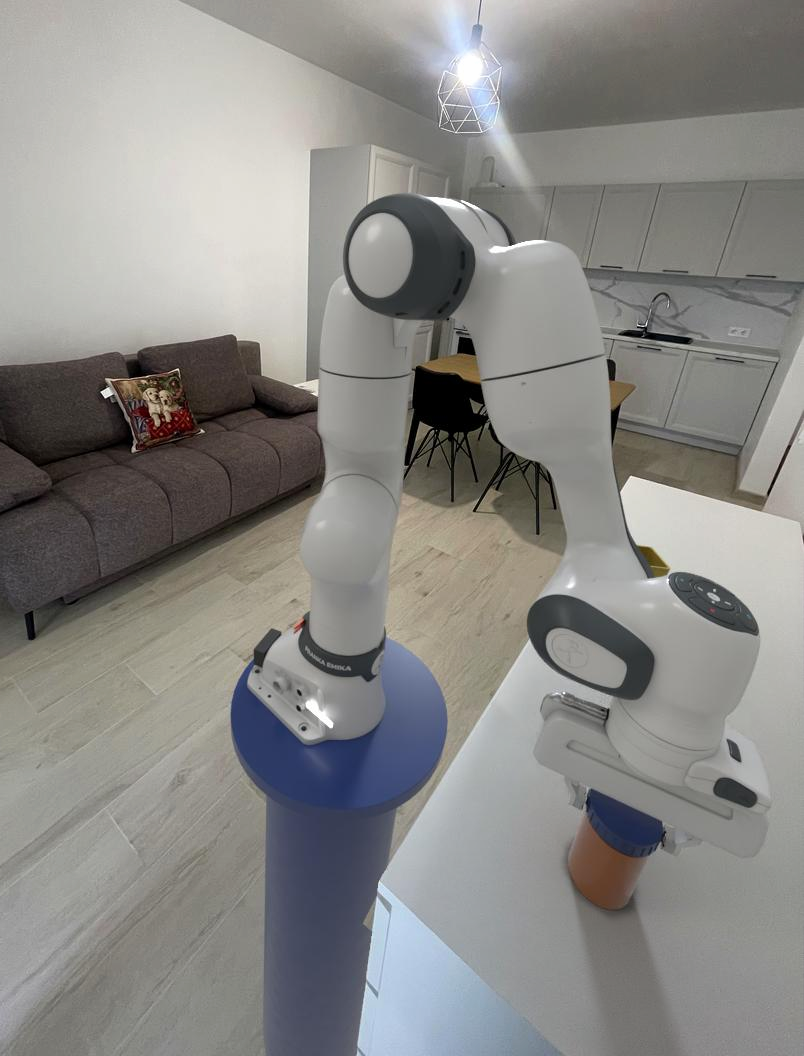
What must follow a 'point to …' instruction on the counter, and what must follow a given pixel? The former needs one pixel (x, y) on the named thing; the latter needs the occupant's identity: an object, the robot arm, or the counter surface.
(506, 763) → the counter surface
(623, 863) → the jam jar
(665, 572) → the flower pot
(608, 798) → the jar lid
